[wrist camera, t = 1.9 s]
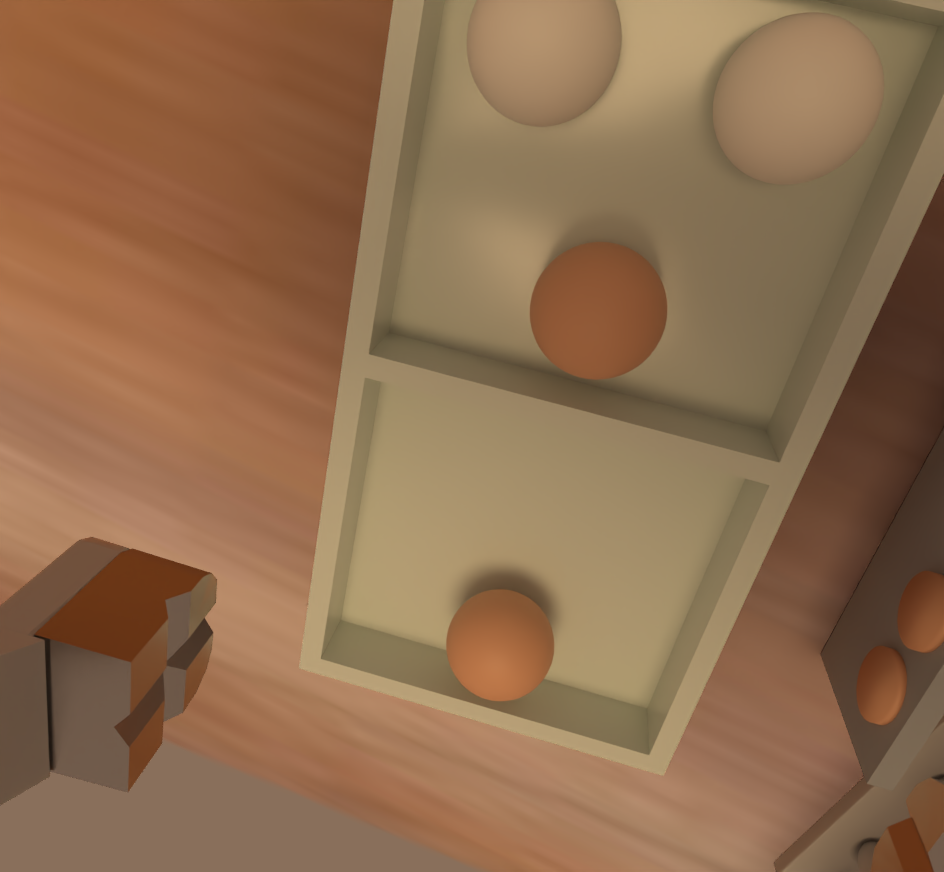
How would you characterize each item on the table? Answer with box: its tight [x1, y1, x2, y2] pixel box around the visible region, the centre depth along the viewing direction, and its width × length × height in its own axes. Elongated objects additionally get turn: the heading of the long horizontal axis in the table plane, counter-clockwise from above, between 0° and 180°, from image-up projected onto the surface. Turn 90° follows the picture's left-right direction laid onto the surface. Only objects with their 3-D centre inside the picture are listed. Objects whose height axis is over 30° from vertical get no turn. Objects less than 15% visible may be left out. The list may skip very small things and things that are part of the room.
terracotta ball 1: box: [446, 589, 554, 701], centre depth 28 cm, size 4×4×4 cm
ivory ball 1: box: [467, 0, 622, 127], centre depth 20 cm, size 4×4×4 cm
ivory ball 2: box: [713, 12, 884, 185], centre depth 19 cm, size 4×4×4 cm
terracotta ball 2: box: [530, 242, 667, 380], centre depth 22 cm, size 4×4×4 cm
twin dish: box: [299, 0, 944, 776], centre depth 25 cm, size 15×26×3 cm, turn 168°
